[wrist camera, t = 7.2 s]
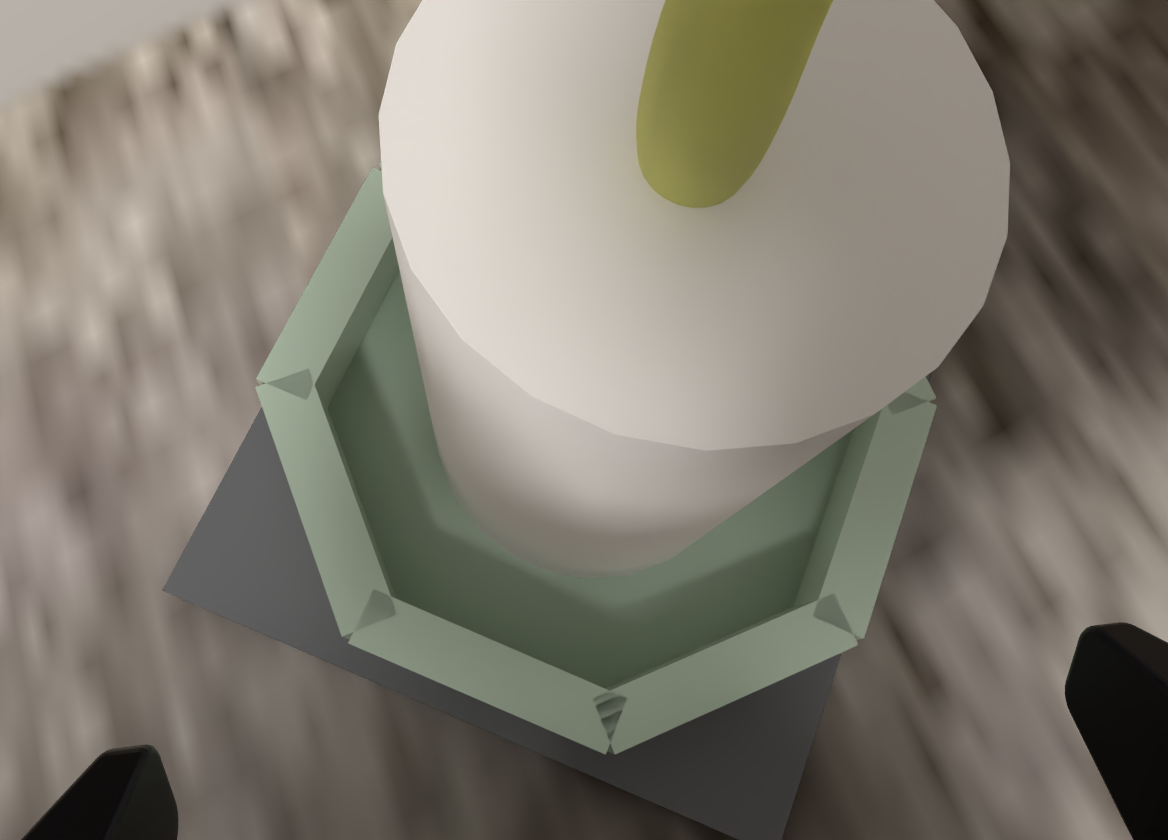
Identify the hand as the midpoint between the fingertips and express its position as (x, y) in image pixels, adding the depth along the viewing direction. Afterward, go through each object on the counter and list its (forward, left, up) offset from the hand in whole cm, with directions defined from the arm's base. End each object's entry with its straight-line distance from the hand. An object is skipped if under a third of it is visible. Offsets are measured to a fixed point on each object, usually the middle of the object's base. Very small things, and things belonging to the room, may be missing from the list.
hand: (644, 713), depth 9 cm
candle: (+5, +2, -9) cm, 11 cm away
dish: (+5, +2, -10) cm, 12 cm away
